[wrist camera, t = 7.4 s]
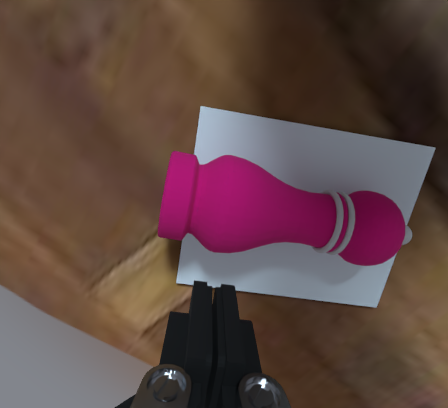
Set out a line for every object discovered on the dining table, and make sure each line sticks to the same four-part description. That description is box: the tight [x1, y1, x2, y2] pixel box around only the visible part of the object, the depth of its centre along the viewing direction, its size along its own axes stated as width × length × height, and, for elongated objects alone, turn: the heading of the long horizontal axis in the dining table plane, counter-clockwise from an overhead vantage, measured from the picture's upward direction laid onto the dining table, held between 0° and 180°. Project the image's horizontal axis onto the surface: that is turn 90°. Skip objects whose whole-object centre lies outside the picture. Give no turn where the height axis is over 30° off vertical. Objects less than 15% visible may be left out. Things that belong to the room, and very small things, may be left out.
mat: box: [176, 106, 435, 308], centre depth 27 cm, size 16×20×1 cm
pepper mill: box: [158, 151, 412, 266], centre depth 23 cm, size 7×7×20 cm
